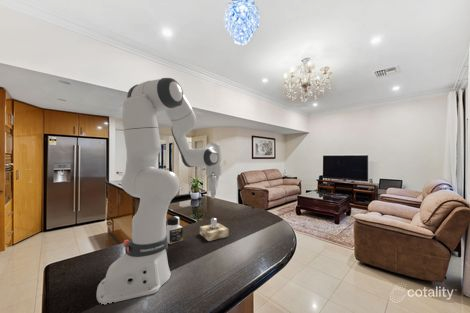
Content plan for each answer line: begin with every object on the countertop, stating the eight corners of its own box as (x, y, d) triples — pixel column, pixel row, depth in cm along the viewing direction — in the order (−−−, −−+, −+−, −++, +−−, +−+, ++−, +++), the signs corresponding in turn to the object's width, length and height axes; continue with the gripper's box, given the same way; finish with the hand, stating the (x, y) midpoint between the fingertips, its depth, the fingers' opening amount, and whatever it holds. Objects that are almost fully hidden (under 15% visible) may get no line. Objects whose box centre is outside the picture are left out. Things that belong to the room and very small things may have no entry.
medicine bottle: (169, 244, 98) (169, 220, 98) (163, 240, 103) (163, 217, 104) (182, 240, 103) (182, 217, 103) (176, 236, 108) (176, 214, 108)
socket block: (208, 241, 102) (208, 233, 102) (199, 233, 112) (199, 226, 112) (228, 236, 108) (228, 228, 108) (218, 229, 118) (218, 222, 118)
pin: (216, 236, 108) (216, 219, 109) (210, 236, 108) (210, 219, 108) (217, 233, 112) (216, 217, 112) (211, 234, 112) (211, 217, 112)
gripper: (218, 173, 100) (218, 200, 100) (219, 171, 121) (219, 193, 120) (205, 173, 100) (205, 200, 100) (209, 171, 121) (209, 193, 120)
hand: (213, 196), depth 110 cm, fingers open, 8 cm apart
